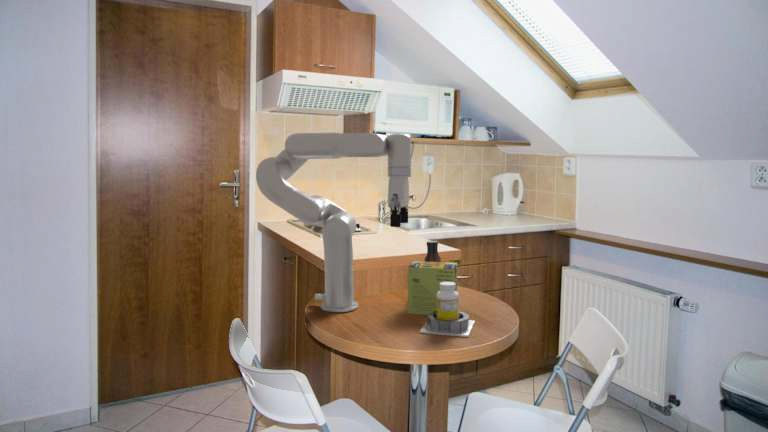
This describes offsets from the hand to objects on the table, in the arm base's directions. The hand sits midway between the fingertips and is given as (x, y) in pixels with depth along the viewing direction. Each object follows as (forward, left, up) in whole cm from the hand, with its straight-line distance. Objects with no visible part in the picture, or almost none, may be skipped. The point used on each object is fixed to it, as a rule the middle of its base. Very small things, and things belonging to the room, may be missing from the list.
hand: (399, 224), depth 179 cm
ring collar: (+19, -15, -28) cm, 37 cm away
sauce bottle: (+7, +21, -28) cm, 36 cm away
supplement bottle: (+19, -15, -28) cm, 37 cm away
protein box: (+11, +1, -29) cm, 31 cm away
